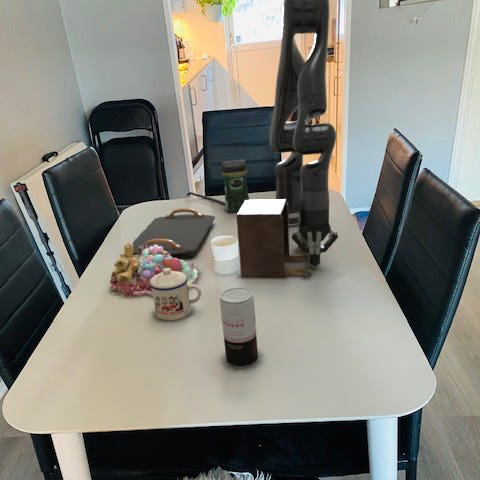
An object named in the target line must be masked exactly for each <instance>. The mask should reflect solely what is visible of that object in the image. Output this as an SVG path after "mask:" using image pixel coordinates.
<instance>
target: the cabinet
mask: <svg viewBox="0 0 480 480" xmlns="http://www.w3.org/2000/svg"><path fill="white" fill-rule="evenodd" d="M235 216H236V227H237V228H236V229H237V239H238V251H239V252H238V253H239V263H240V273H241V274H240V276H241V278H243V279H245V278H246V279H247V278H250V279H252V278H253V279H254V278H257V279H258V278H259V279H285V278H286V275H285V269H286V267H285V265H286V264H285V263H286V262H285V261H284V255H291V254H290V226H289V221H288V203H286V199H276V198H272V199H270V198H269V199H249V200H245V202H244V203H243V205H242V206H241V208H240V210H239V211H238V212H236V215H235Z"/></svg>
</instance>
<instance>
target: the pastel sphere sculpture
mask: <svg viewBox="0 0 480 480" xmlns="http://www.w3.org/2000/svg"><path fill="white" fill-rule="evenodd" d="M123 251H124V253H121V254H119V256H120V257H119V258H118V259H117V260H116V261H115V262H114V265H113V266H114V267H115V268H114V269H113V271H111V272H112V273H111V275H110V280H109V283H110V285H109V288H110V290H114V291H113V294H114V293H118V292H119V291H122V293H121V296H133V295H134V296H143V295H148V296H151V297H153V294H152V289H151V287H150V280H151V279H152V277H154V276H155V275H157V274H160V273H162V272H163V269H164V268H170V269H171V271H177V272H181V273H184V274H185V275H186V277H187V279H188V281H187V284H194V285H195V283H196V281H197V280H198V279H199V276H198V275H199V271H198V270H197V269H196V268H195V267H194V263H193V261H192V262H191V261H190V262H189V264H188V263H187V262H186V261H185V260H184V259H179V258H177V257H173V256H172V255H170V254H169V253H168V252H167V251H164V250H163V247H162V246H159V247H158V246H157V245H153V246H151V245H150V247H149V248H147V244H146V249H144V250H143V245H142V254H140V255H138V254H137V255H133V251H134V248H133V244H132V243H126V244H124V245H123ZM189 289H190V288H188V290H189Z"/></svg>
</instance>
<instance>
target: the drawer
mask: <svg viewBox="0 0 480 480" xmlns="http://www.w3.org/2000/svg"><path fill="white" fill-rule="evenodd" d="M284 262H306V265H305V268H285V276H304V278H309V274H313V269H311V265H310V254H308V255H303V254H290V255H284Z"/></svg>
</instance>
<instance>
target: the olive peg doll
mask: <svg viewBox="0 0 480 480" xmlns="http://www.w3.org/2000/svg"><path fill="white" fill-rule="evenodd" d="M300 225H301V219H300V217H299V219H298V225H297V226H298V227H300ZM300 235H301V234H300ZM301 239H302V240H303V241H304V243H305V244H306V245H307V246H308V241H306V240H305V238H304V237H303V236H302V235H301ZM308 247H309V246H308ZM314 252H316V242H314ZM296 253H297V254H298V255H308V254H309V253H307V252H303V251H302V250H301V248H300V247H299V246H298V245H297V250H296Z"/></svg>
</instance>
